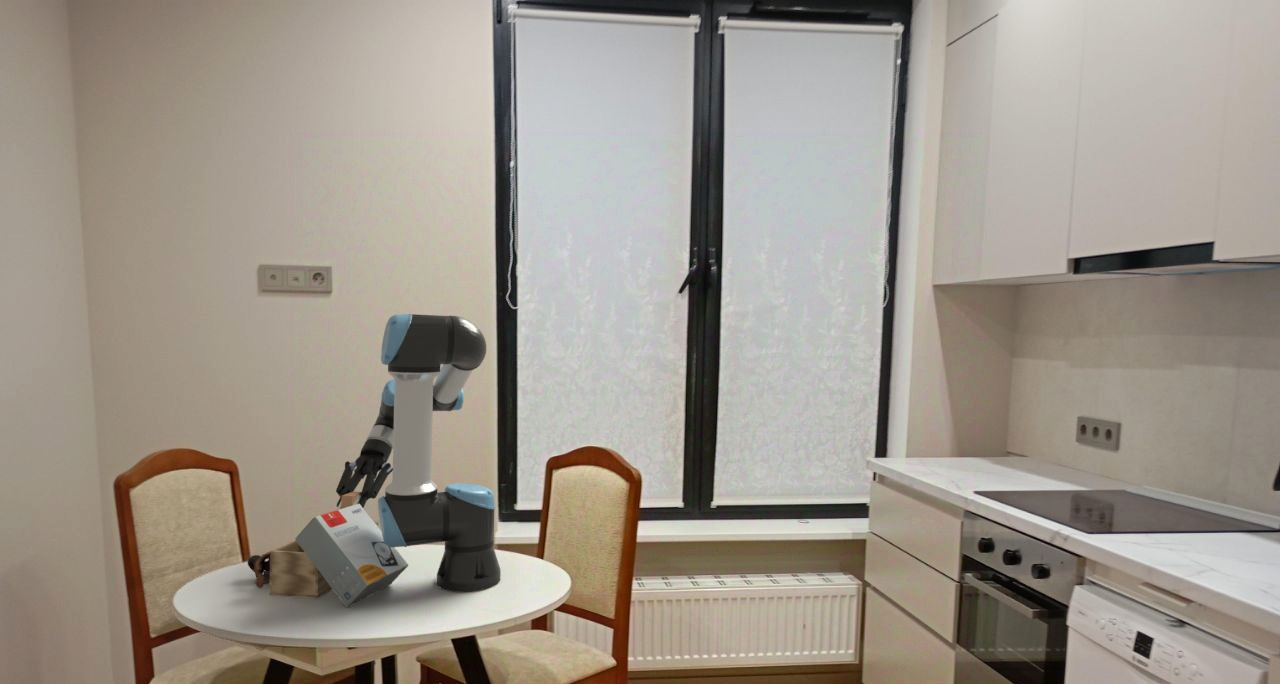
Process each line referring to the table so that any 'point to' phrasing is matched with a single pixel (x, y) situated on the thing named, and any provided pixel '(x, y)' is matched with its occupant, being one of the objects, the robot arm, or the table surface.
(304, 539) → the hard drive box
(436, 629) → the table surface
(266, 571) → the pottery mug
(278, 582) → the carton
